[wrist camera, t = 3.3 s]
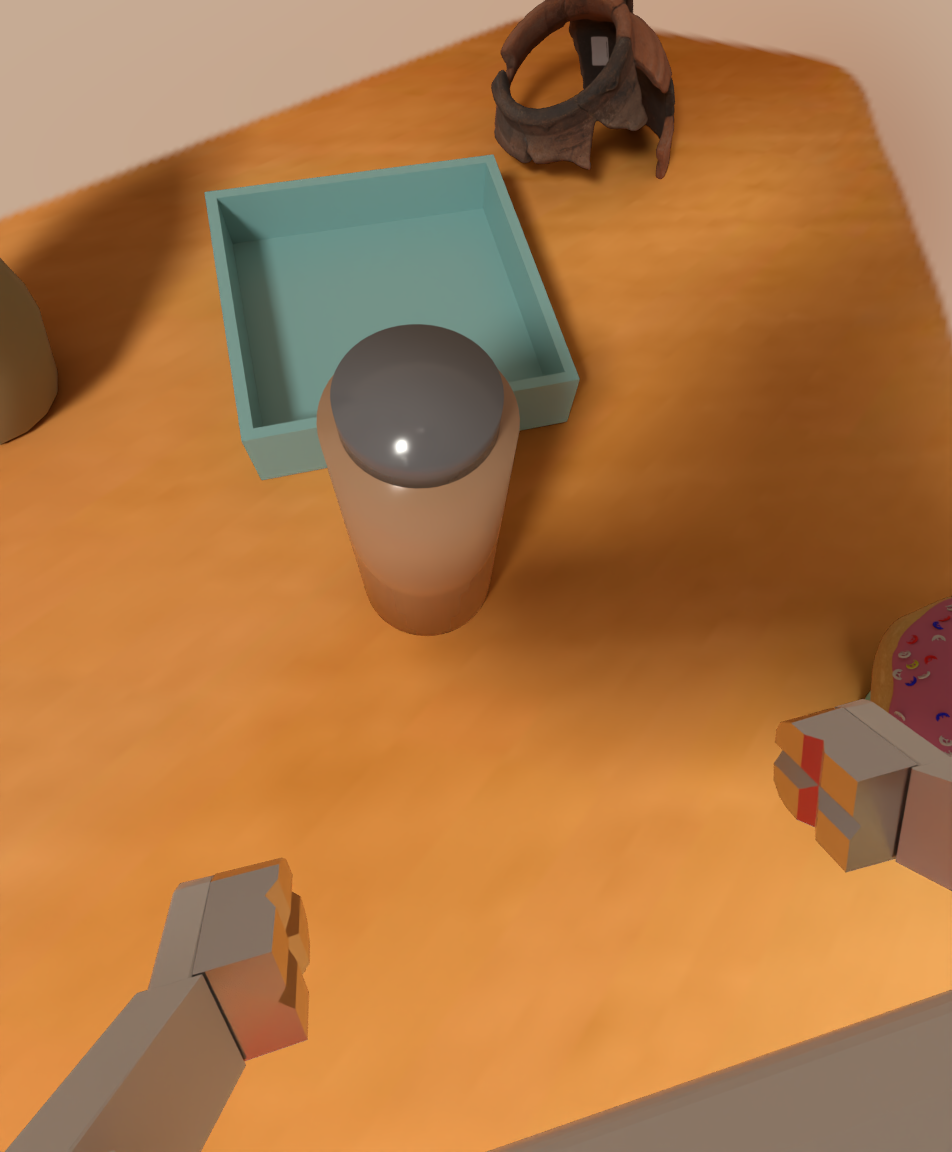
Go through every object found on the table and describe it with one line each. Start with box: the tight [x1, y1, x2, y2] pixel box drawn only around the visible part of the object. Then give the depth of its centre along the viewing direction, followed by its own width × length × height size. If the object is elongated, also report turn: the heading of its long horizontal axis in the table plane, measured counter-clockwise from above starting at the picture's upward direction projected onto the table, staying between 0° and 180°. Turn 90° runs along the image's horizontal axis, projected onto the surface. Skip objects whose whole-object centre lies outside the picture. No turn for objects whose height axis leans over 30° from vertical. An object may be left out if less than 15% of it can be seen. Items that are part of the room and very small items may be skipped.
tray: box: [205, 155, 580, 480], centre depth 30 cm, size 14×14×3 cm
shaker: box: [316, 324, 520, 636], centre depth 21 cm, size 5×5×12 cm
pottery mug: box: [491, 0, 675, 179], centre depth 35 cm, size 12×10×8 cm
